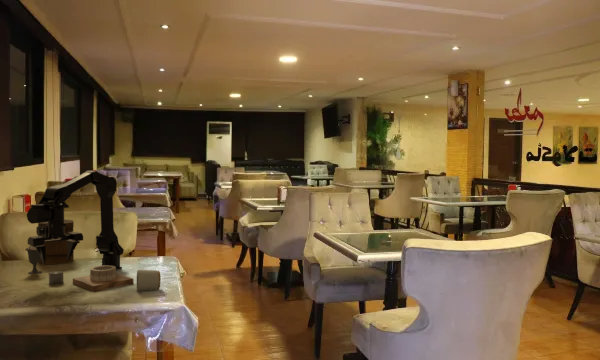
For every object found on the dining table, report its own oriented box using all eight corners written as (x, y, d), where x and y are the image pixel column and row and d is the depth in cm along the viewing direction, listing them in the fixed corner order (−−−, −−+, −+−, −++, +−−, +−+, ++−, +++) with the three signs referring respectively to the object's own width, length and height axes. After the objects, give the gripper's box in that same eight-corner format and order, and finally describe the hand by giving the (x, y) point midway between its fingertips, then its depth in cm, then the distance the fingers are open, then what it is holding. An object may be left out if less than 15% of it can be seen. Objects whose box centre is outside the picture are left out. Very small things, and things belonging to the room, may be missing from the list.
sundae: (36, 275, 210) (36, 238, 209) (21, 274, 211) (21, 237, 210) (47, 271, 216) (47, 235, 215) (33, 270, 217) (33, 234, 217)
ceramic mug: (161, 292, 189) (161, 271, 189) (137, 293, 186) (137, 272, 185) (157, 285, 199) (157, 265, 198) (135, 287, 196) (135, 266, 195)
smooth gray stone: (59, 280, 202) (59, 270, 202) (65, 283, 199) (65, 272, 198) (46, 283, 198) (46, 272, 198) (52, 285, 195) (52, 275, 195)
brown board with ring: (111, 276, 210) (111, 261, 210) (133, 283, 200) (133, 268, 199) (72, 283, 198) (72, 267, 198) (93, 291, 188) (93, 275, 187)
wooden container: (79, 261, 237) (79, 213, 236) (46, 266, 226) (45, 215, 225) (64, 256, 247) (64, 210, 246) (32, 260, 236) (31, 212, 235)
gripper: (70, 216, 209) (70, 254, 210) (21, 220, 195) (21, 261, 196) (83, 219, 202) (84, 258, 203) (33, 223, 188) (34, 266, 189)
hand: (56, 261), depth 198 cm, fingers open, 9 cm apart
